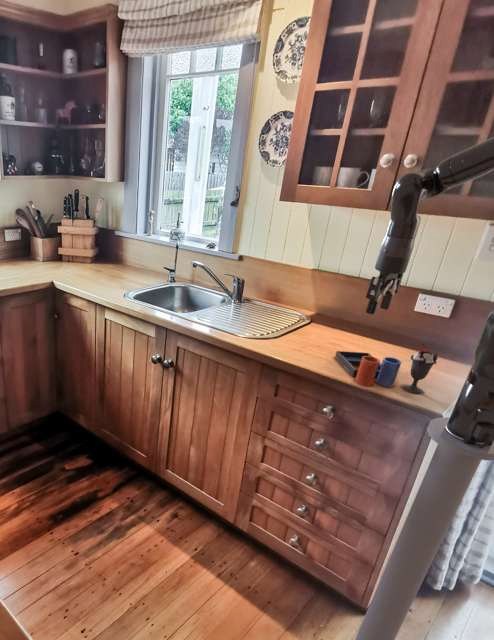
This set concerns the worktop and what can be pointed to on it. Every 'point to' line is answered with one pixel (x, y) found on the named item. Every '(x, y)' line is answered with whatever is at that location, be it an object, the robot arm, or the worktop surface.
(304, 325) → the worktop surface
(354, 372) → the tray
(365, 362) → the terracotta cup
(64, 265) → the worktop surface
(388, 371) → the blue cup
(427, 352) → the sundae
